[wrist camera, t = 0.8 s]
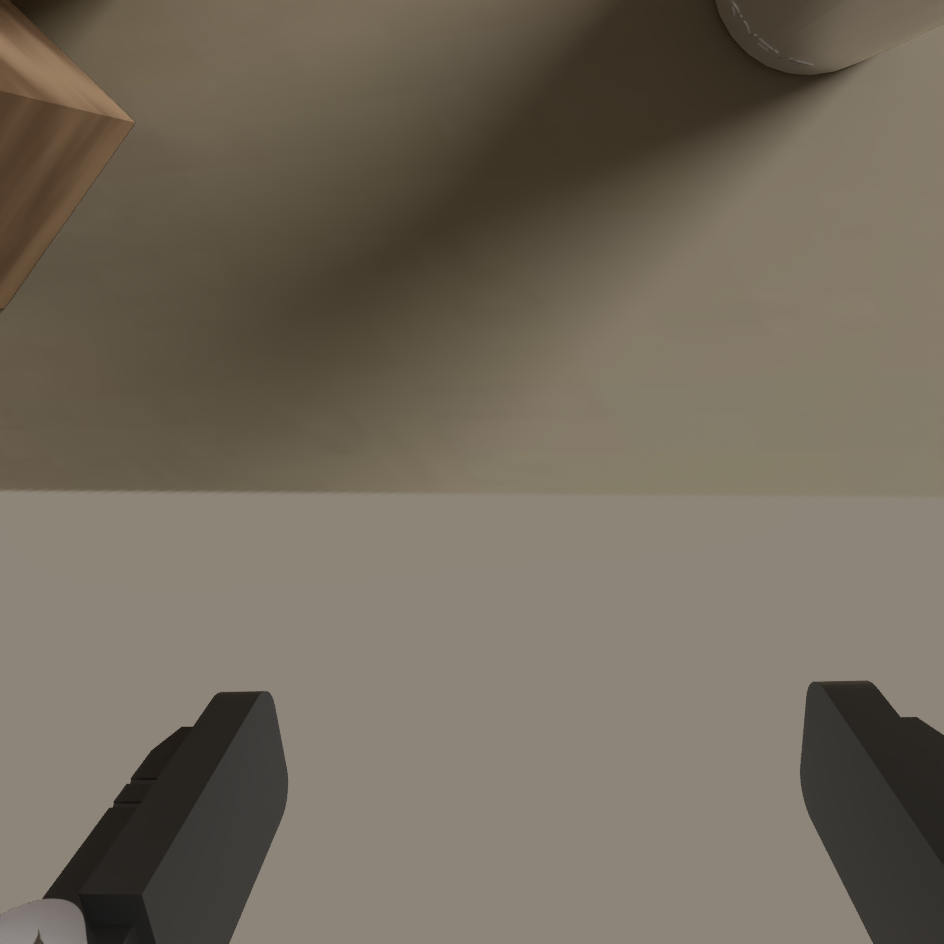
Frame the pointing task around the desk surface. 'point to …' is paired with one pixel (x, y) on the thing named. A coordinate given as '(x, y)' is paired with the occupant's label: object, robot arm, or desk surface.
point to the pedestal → (45, 143)
